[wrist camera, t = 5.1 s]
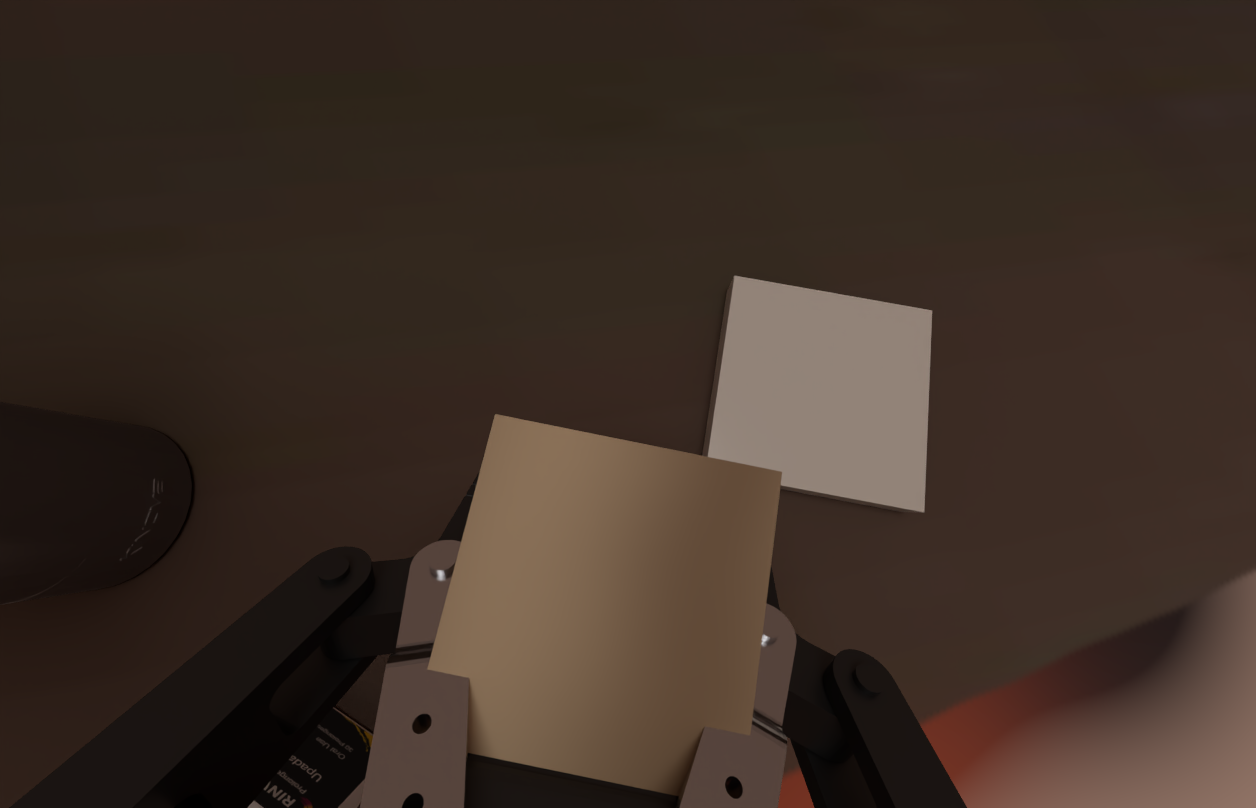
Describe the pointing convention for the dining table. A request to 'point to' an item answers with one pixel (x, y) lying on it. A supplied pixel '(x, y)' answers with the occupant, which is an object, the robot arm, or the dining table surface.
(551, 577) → the oak block
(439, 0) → the dining table surface
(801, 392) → the cream tile
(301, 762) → the medicine bottle
